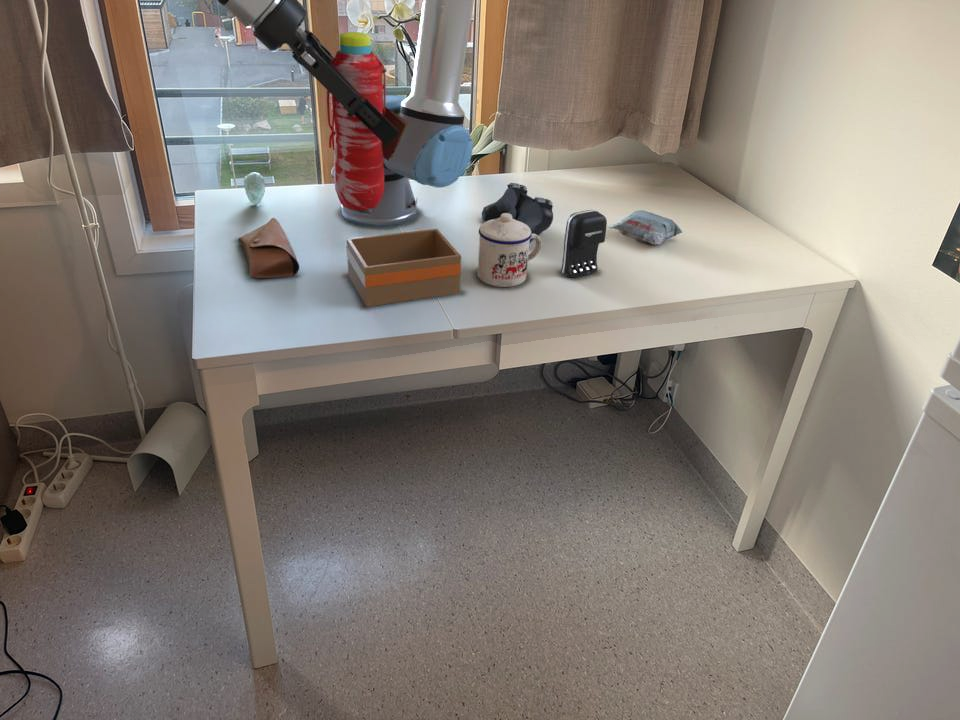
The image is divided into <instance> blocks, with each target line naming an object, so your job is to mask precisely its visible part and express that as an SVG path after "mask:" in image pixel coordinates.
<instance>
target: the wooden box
mask: <svg viewBox="0 0 960 720" xmlns="http://www.w3.org/2000/svg"><path fill="white" fill-rule="evenodd" d="M345 246H346V258H347V271H348V272H347V273H348V275H347V277H349V279H350V282H351V283H352V284H353V286H354V288H355V290H356V292H357V293H358V296H359V297H360V299H361V301H362V302H363V304H364V306H365V307H366V308H369V307H376V306H383V305H390V304H398V303H403V302H411V301H418V300H425V299H431V298H438V297H444V296H445V297H446V296H451V295H459V294H460V293H461V274H462V255H461V254H460V253H459V251H458V250H457V249H456V248H455V247H454V245H452V243H450V241H449V240H448V239H447V238H446V236H444V235H443V234H442V232H441V231H440V230H439V229H438V228H429V229H421V230H411V231H404V232H393V233H387V234H385V233H384V234H376V235H369V236H367V235H366V236H360V237H350V238H346V245H345Z"/></svg>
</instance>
